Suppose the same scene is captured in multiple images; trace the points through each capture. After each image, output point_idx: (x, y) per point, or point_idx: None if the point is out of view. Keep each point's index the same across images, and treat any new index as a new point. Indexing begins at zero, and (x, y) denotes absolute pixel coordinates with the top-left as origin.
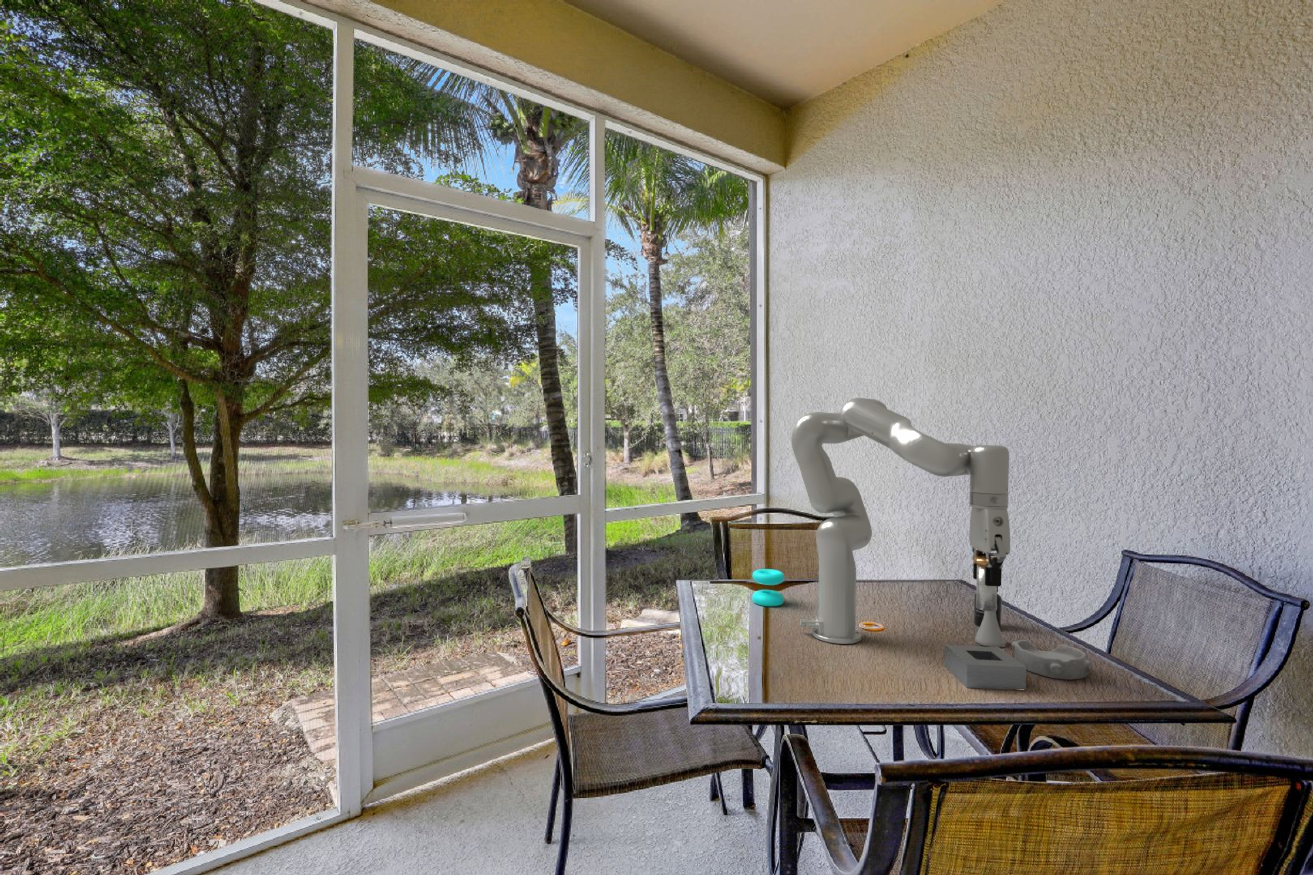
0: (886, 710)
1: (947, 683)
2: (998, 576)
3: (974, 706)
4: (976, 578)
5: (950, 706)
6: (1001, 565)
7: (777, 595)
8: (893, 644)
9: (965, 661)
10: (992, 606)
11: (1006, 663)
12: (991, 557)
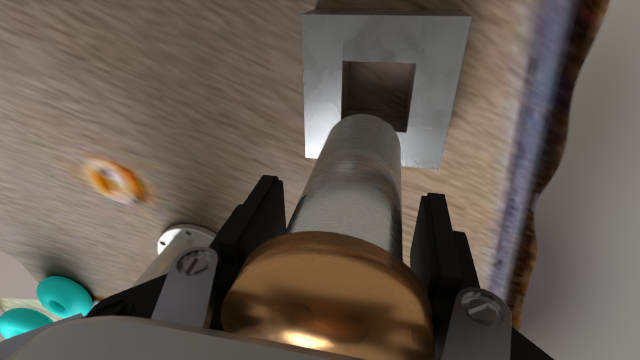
0: (512, 298)
1: (409, 170)
2: (472, 260)
3: (525, 172)
4: (284, 232)
5: (516, 212)
6: (508, 324)
7: (63, 298)
8: (210, 182)
9: (419, 163)
10: (400, 154)
11: (438, 64)
12: (274, 301)
